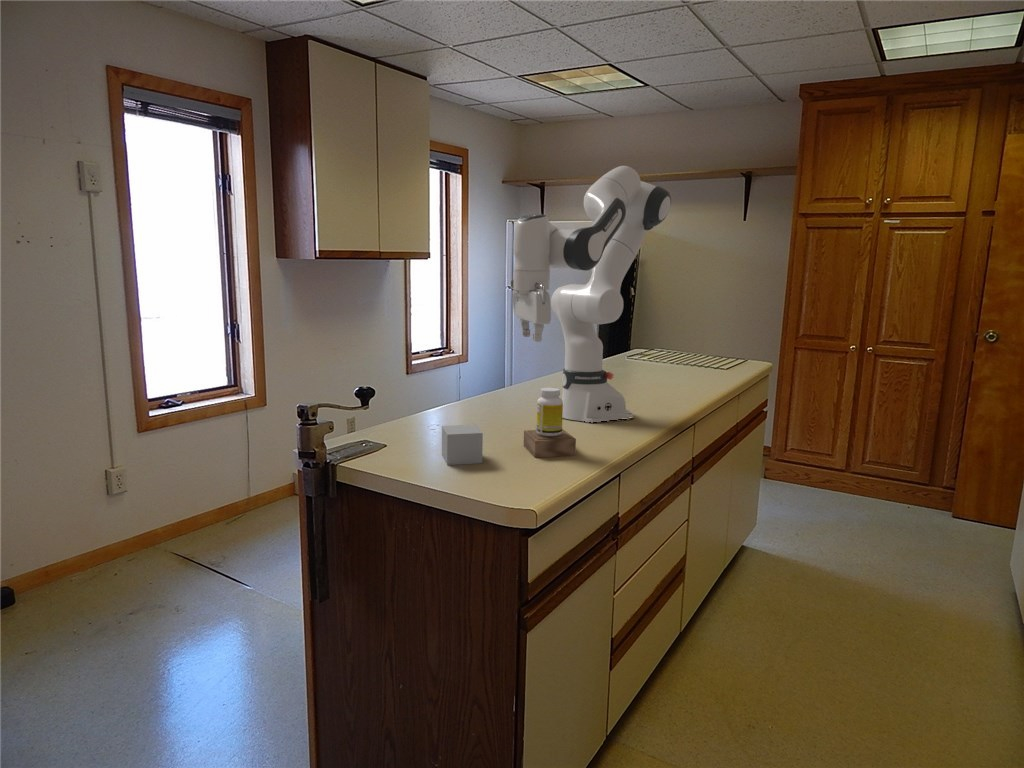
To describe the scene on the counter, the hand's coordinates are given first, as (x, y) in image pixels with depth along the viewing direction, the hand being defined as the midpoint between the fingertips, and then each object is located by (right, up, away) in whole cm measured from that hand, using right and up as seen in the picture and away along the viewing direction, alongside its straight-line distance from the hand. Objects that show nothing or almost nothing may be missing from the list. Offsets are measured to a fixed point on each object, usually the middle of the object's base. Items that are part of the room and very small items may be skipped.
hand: (531, 338), depth 164 cm
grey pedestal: (-17, -29, -12) cm, 35 cm away
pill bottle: (+4, -24, -4) cm, 24 cm away
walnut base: (+4, -27, -4) cm, 28 cm away
